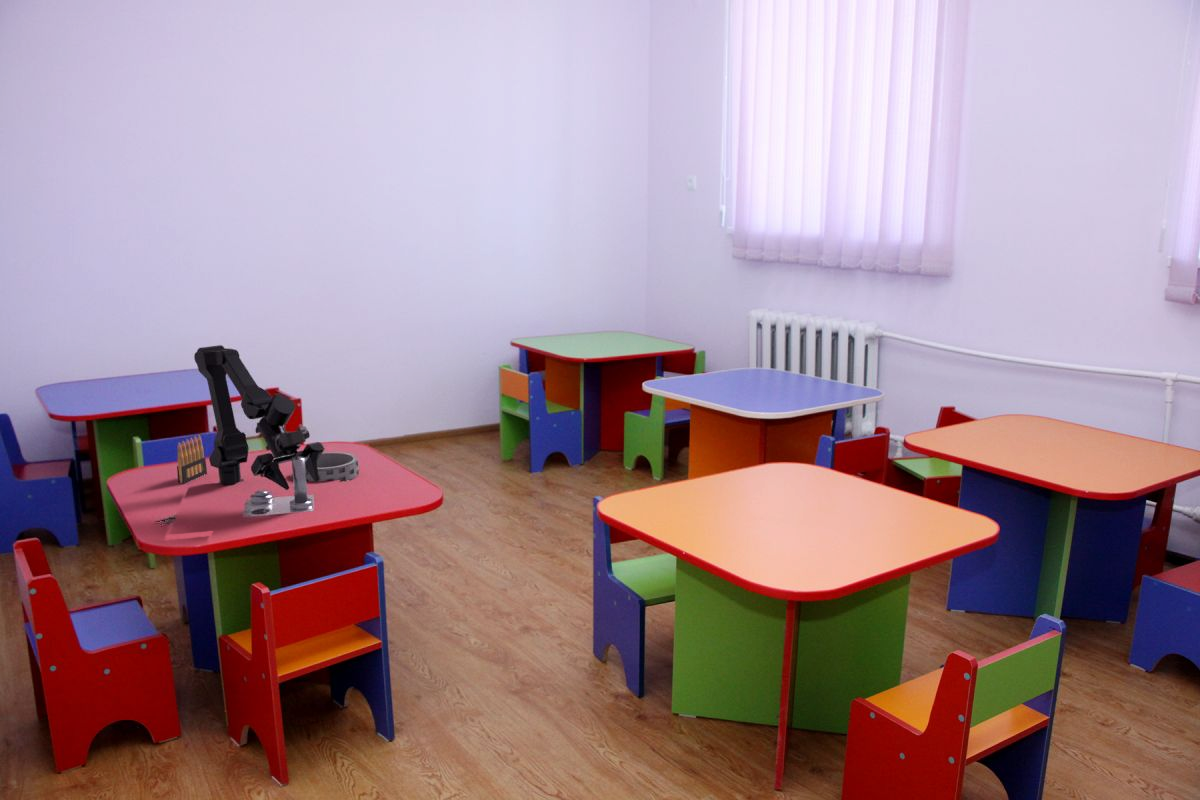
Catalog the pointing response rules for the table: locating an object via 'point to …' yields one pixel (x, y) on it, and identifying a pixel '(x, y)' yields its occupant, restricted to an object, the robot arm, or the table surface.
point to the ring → (336, 467)
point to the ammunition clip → (191, 460)
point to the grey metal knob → (261, 497)
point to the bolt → (300, 485)
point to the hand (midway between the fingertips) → (303, 485)
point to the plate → (273, 507)
